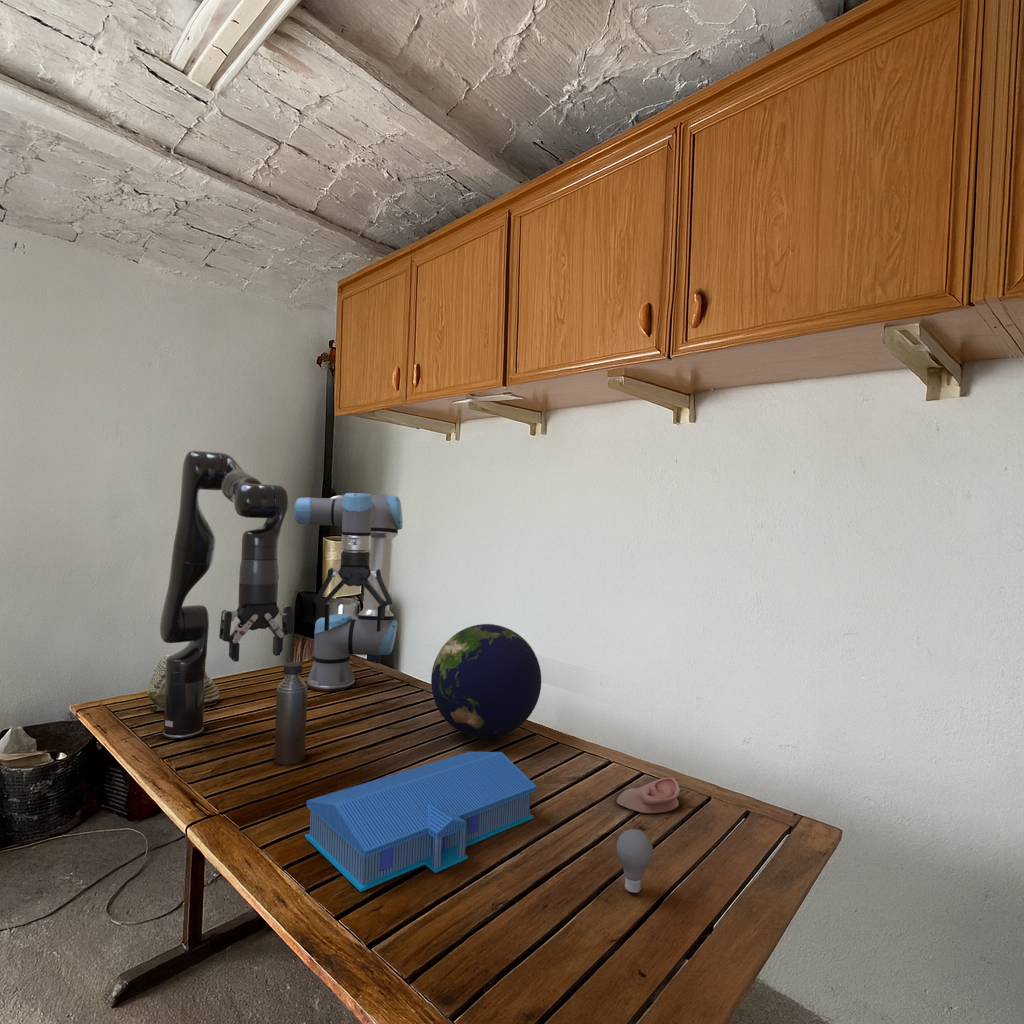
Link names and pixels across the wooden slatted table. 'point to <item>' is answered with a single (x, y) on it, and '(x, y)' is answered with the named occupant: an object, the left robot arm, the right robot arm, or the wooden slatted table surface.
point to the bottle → (290, 721)
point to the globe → (486, 681)
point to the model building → (419, 816)
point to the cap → (292, 668)
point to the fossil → (158, 687)
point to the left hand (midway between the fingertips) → (256, 657)
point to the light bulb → (634, 857)
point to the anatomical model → (652, 796)
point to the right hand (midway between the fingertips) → (352, 630)
